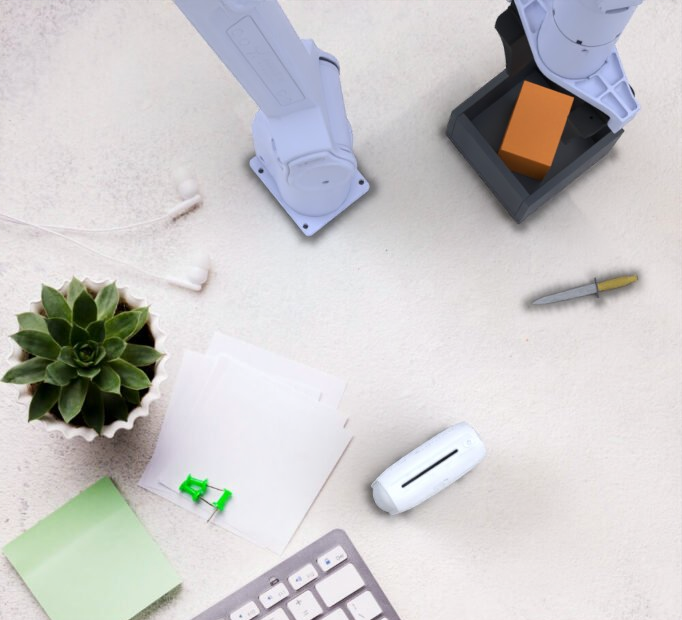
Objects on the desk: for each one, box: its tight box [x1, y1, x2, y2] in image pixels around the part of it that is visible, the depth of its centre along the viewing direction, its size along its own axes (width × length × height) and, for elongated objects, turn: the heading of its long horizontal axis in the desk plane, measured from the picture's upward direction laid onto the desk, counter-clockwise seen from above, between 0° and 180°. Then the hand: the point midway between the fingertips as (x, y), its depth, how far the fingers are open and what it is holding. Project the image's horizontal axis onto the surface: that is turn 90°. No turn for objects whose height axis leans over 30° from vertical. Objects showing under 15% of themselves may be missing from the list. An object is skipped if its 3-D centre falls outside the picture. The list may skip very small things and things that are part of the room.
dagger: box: [530, 274, 639, 305], centre depth 84 cm, size 11×1×2 cm
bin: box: [445, 56, 625, 225], centre depth 82 cm, size 12×12×5 cm
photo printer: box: [370, 421, 487, 516], centre depth 78 cm, size 10×4×12 cm, turn 123°
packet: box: [497, 81, 574, 181], centre depth 82 cm, size 5×7×4 cm
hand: (544, 102), depth 76 cm, fingers open, 7 cm apart
